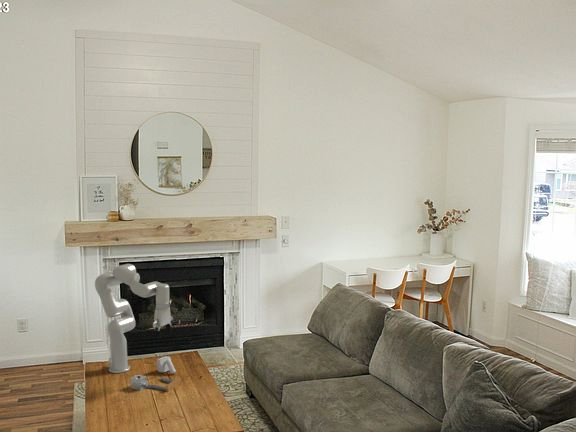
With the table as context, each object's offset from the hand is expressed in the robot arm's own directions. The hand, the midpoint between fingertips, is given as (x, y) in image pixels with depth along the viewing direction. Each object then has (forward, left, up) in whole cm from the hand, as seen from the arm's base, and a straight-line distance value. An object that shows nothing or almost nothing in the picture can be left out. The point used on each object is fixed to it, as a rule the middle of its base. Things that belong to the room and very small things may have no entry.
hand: (163, 334), depth 327 cm
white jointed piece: (-5, +11, -28) cm, 30 cm away
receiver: (+6, -6, -27) cm, 29 cm away
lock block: (-6, -14, -28) cm, 32 cm away
